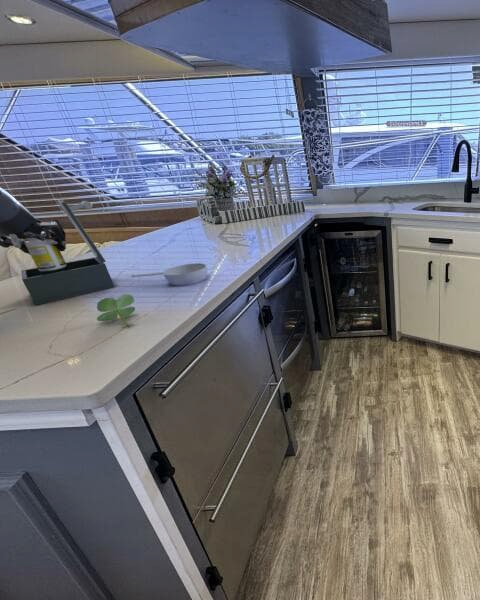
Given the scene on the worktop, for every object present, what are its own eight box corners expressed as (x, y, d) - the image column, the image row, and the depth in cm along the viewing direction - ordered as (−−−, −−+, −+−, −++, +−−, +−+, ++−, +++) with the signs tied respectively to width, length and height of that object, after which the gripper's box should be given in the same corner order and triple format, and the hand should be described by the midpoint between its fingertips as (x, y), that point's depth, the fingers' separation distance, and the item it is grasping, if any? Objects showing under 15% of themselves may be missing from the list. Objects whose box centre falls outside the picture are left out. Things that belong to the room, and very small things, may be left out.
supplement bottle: (60, 265, 88) (43, 229, 84) (71, 266, 86) (55, 230, 83) (34, 271, 84) (15, 233, 80) (45, 272, 82) (26, 234, 78)
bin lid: (61, 202, 79) (89, 196, 83) (56, 200, 87) (82, 194, 90) (102, 262, 87) (126, 254, 91) (95, 255, 95) (117, 248, 99)
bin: (35, 305, 80) (21, 279, 77) (33, 294, 88) (20, 270, 85) (114, 286, 91) (105, 263, 88) (106, 278, 98) (97, 256, 96)
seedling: (130, 343, 70) (117, 323, 72) (157, 317, 70) (144, 298, 72) (94, 339, 63) (81, 317, 65) (125, 311, 63) (111, 289, 65)
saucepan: (207, 282, 91) (203, 269, 89) (130, 294, 84) (125, 280, 83) (211, 272, 100) (207, 260, 98) (142, 282, 93) (137, 269, 92)
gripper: (39, 192, 74) (82, 235, 89) (-50, 197, 68) (11, 242, 83) (39, 218, 72) (83, 257, 86) (-54, 225, 66) (10, 266, 81)
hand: (48, 250), depth 85 cm, fingers closed on supplement bottle, 5 cm apart
